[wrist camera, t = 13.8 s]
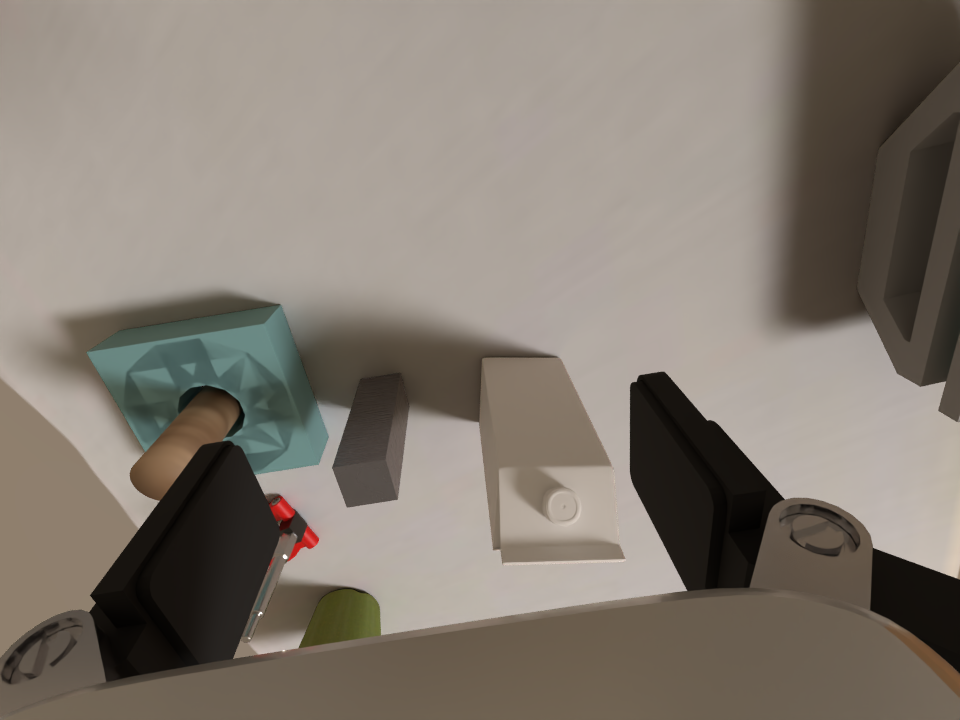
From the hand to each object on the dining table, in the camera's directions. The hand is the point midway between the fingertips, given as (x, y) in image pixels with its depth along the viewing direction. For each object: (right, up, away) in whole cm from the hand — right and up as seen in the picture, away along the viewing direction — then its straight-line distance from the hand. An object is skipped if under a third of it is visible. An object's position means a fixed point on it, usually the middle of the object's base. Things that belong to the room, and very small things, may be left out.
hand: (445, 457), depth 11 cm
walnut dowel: (-21, 0, +30) cm, 37 cm away
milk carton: (+4, 0, +33) cm, 33 cm away
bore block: (-21, 0, +30) cm, 37 cm away
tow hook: (-22, -15, +38) cm, 47 cm away
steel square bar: (-8, -1, +32) cm, 33 cm away
